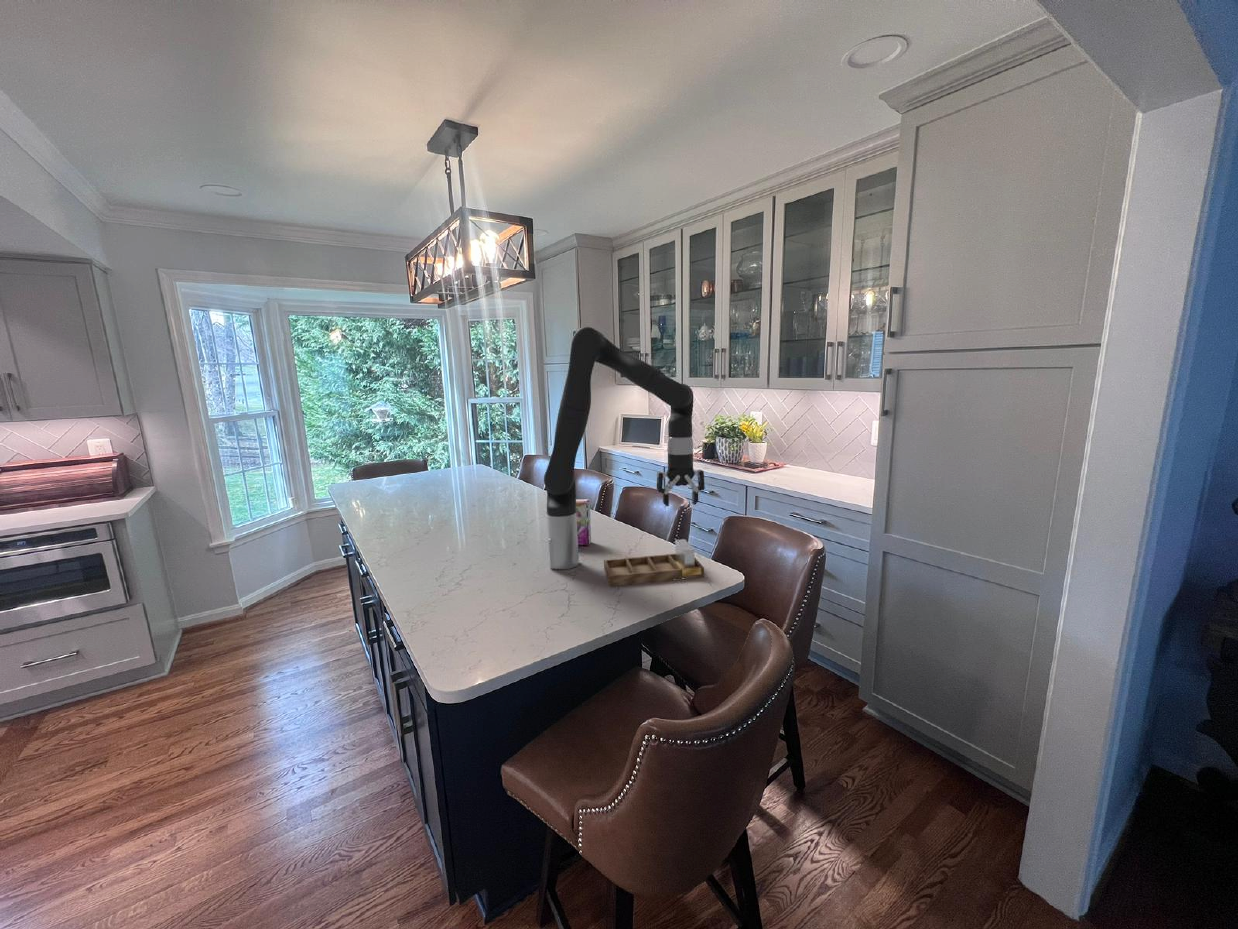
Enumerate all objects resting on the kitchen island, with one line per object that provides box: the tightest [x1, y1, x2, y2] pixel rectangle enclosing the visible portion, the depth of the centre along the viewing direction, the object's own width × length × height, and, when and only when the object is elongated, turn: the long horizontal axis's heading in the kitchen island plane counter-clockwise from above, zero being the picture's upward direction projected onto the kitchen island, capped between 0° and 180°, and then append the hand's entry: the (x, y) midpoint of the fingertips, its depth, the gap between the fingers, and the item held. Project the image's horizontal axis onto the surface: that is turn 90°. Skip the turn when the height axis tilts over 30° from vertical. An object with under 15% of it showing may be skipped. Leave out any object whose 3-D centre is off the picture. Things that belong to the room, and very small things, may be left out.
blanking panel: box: [674, 538, 695, 569], centre depth 152 cm, size 3×10×7 cm, turn 9°
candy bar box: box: [576, 498, 592, 547], centre depth 180 cm, size 11×5×16 cm, turn 84°
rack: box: [603, 553, 705, 587], centre depth 150 cm, size 28×14×3 cm, turn 99°
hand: (680, 504), depth 150 cm, fingers open, 8 cm apart
